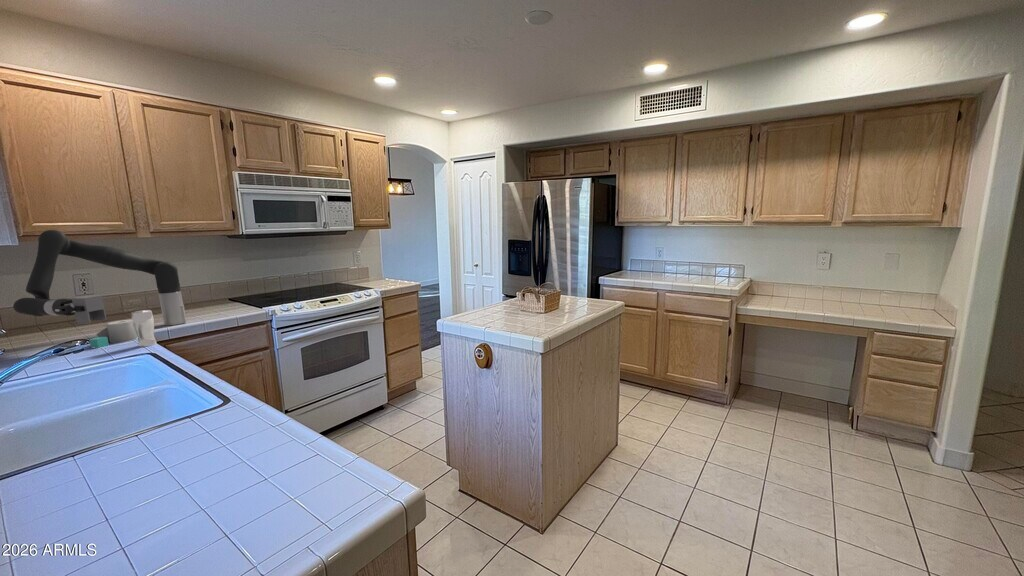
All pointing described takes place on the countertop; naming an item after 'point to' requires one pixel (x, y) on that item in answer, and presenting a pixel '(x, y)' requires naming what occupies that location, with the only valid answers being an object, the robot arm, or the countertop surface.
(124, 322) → the toilet tissue
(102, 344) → the block
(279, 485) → the countertop surface
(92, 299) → the cover
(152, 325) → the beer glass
